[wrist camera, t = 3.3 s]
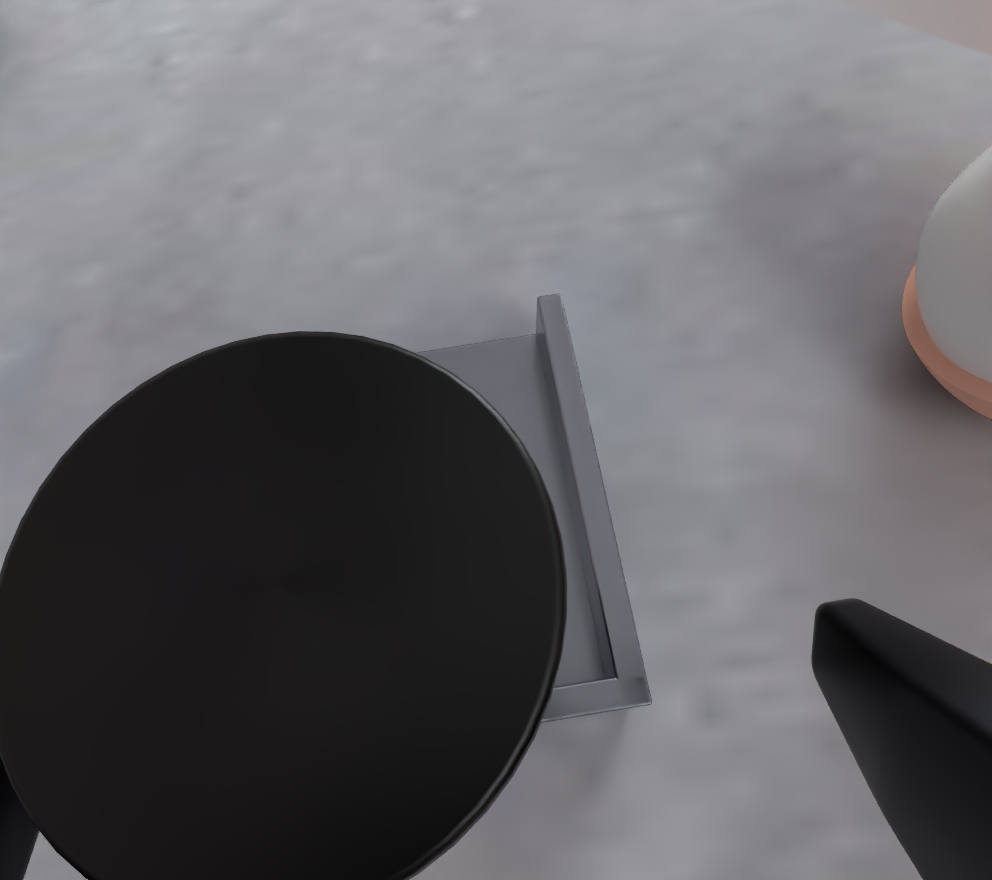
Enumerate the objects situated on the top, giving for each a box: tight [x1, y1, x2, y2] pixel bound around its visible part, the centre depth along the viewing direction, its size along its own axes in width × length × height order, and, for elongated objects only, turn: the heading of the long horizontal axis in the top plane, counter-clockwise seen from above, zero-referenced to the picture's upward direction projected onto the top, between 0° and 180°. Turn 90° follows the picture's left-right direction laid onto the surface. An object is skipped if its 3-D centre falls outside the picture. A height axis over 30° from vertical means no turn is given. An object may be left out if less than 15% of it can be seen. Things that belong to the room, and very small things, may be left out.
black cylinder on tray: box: [0, 294, 652, 880], centre depth 10 cm, size 9×7×13 cm
